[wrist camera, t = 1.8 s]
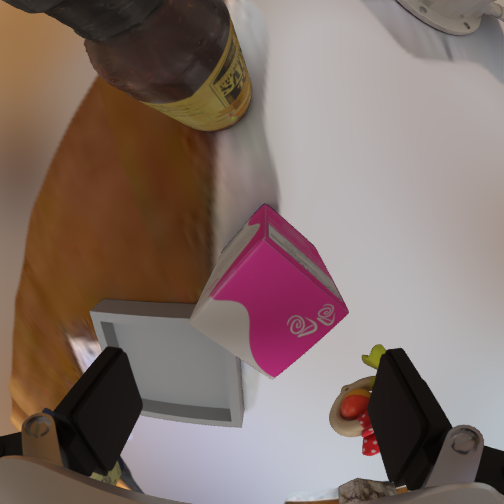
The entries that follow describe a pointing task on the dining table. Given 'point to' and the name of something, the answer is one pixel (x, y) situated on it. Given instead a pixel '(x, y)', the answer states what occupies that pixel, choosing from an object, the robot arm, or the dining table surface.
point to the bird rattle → (357, 407)
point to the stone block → (364, 490)
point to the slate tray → (173, 362)
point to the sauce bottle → (163, 54)
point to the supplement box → (268, 295)
